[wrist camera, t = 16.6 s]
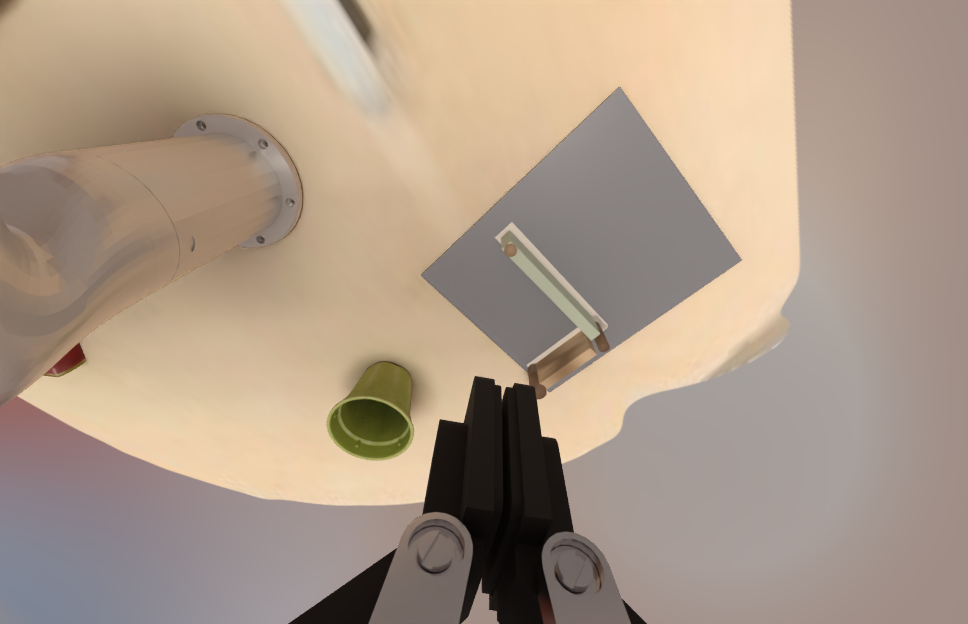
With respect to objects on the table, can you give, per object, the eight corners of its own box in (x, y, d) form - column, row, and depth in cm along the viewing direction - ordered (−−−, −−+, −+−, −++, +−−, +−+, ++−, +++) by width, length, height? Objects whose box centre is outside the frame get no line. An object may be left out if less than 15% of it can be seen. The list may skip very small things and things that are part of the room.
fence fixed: (533, 376, 50) (537, 401, 46) (524, 367, 50) (527, 392, 45) (602, 326, 47) (613, 349, 42) (593, 316, 46) (603, 338, 42)
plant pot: (437, 397, 52) (428, 448, 44) (375, 417, 54) (355, 469, 46) (404, 340, 48) (386, 386, 40) (337, 364, 50) (309, 412, 42)
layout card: (549, 390, 51) (549, 392, 51) (421, 274, 44) (420, 275, 44) (740, 259, 42) (742, 260, 42) (619, 86, 35) (620, 86, 35)
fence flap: (593, 317, 45) (601, 336, 42) (584, 323, 46) (592, 342, 42) (509, 230, 41) (511, 242, 37) (501, 237, 41) (501, 250, 38)
